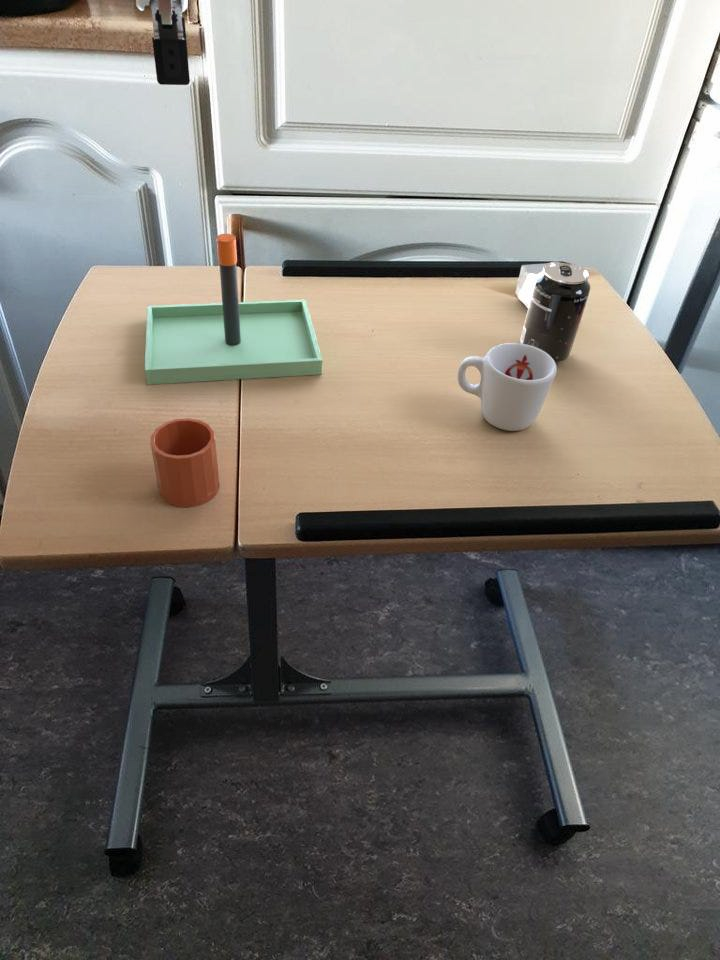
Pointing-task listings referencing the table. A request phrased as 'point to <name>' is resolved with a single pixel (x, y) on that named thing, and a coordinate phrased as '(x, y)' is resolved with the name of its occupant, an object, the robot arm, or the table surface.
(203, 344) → the tray
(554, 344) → the beverage can
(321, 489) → the table surface
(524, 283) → the small box
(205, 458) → the pen cup
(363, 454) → the table surface
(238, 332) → the marker
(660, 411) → the table surface
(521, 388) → the cup
